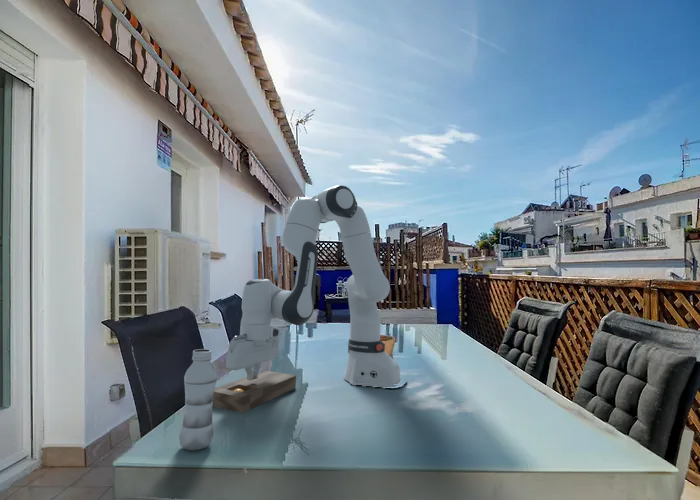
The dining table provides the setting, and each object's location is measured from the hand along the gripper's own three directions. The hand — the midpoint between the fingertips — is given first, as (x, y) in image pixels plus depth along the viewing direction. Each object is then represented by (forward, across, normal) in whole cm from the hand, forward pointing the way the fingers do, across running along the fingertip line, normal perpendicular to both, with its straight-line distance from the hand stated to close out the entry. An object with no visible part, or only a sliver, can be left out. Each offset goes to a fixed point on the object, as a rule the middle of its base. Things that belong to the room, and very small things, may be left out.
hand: (252, 379), depth 112 cm
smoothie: (+5, +26, +15) cm, 31 cm away
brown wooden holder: (+5, +1, 0) cm, 5 cm away
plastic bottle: (+6, -32, -11) cm, 34 cm away
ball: (+3, -6, 0) cm, 7 cm away
